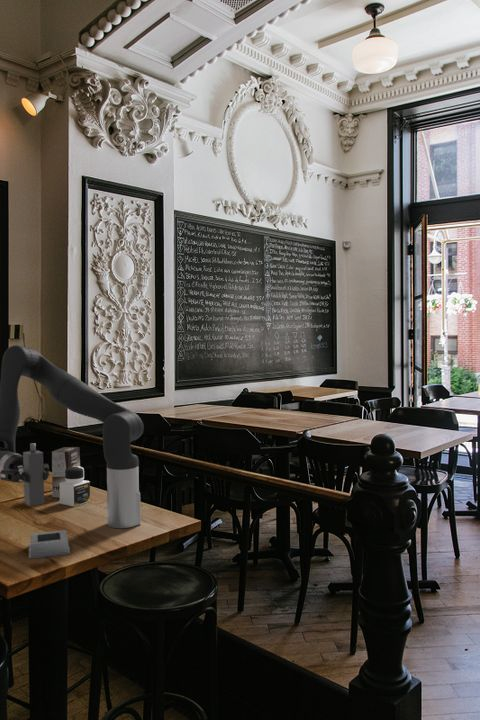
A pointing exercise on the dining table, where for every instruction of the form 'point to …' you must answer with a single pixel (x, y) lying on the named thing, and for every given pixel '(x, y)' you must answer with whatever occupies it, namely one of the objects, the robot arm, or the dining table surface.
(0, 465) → the robot arm
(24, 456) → the plug
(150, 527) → the dining table surface
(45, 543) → the socket
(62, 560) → the dining table surface
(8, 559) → the dining table surface
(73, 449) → the coffee box
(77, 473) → the medicine bottle
